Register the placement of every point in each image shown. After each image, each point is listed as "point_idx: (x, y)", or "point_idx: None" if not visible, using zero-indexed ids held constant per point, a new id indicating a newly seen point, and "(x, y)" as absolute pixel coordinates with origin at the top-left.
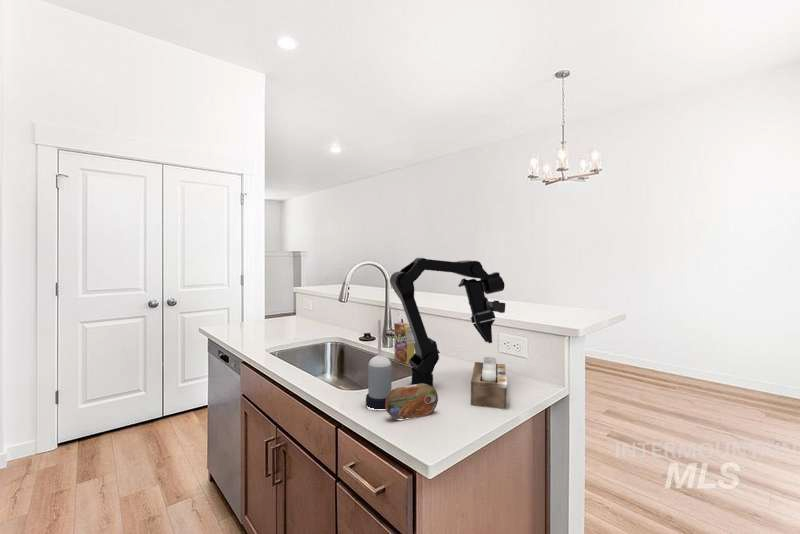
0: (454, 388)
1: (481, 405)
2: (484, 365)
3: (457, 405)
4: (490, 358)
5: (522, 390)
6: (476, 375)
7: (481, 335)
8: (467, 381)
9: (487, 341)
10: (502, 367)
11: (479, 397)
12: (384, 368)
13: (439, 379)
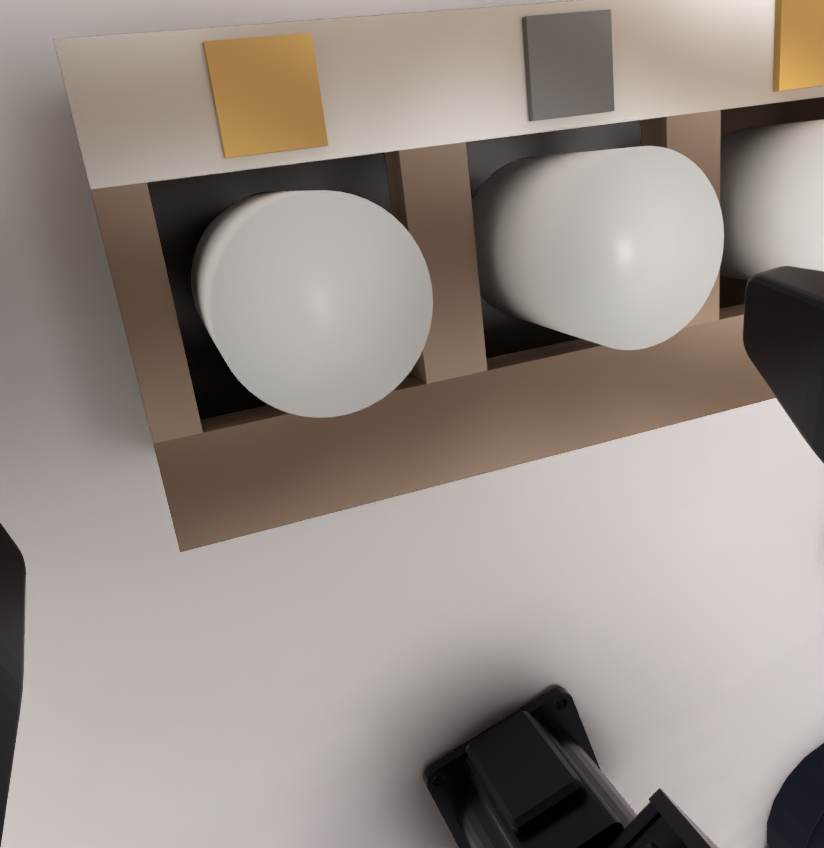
0: (430, 562)
1: None
2: (697, 312)
3: (744, 417)
4: (309, 301)
5: None
6: (722, 366)
7: (3, 808)
8: None
9: (1, 530)
10: (315, 74)
11: None
12: None
13: (256, 770)
